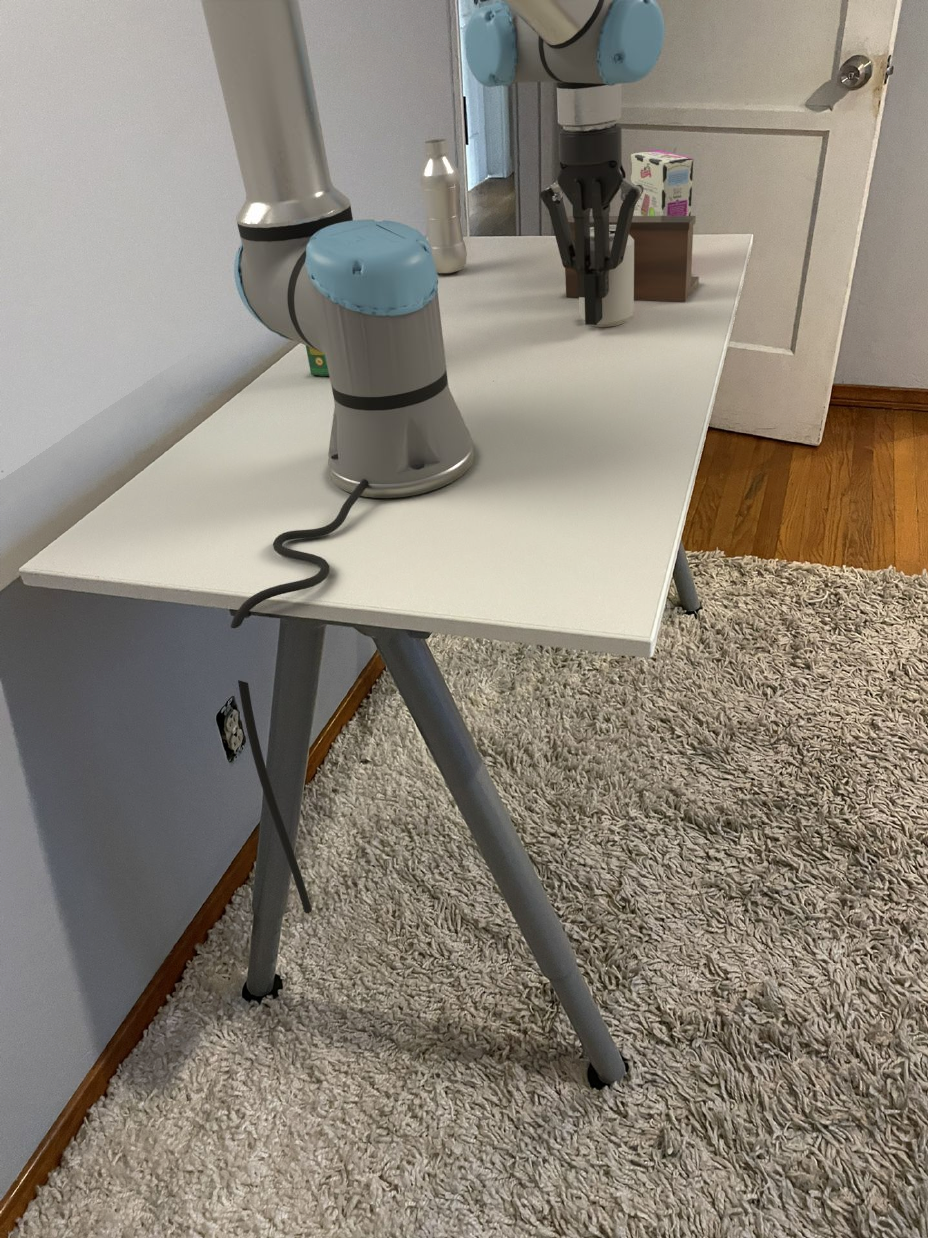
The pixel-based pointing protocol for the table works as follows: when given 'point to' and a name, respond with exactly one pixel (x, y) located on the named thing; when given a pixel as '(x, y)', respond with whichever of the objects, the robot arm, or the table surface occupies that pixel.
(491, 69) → the robot arm
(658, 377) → the table surface
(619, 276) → the can
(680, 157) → the candy bar box
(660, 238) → the wooden box
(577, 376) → the table surface
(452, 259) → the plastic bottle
